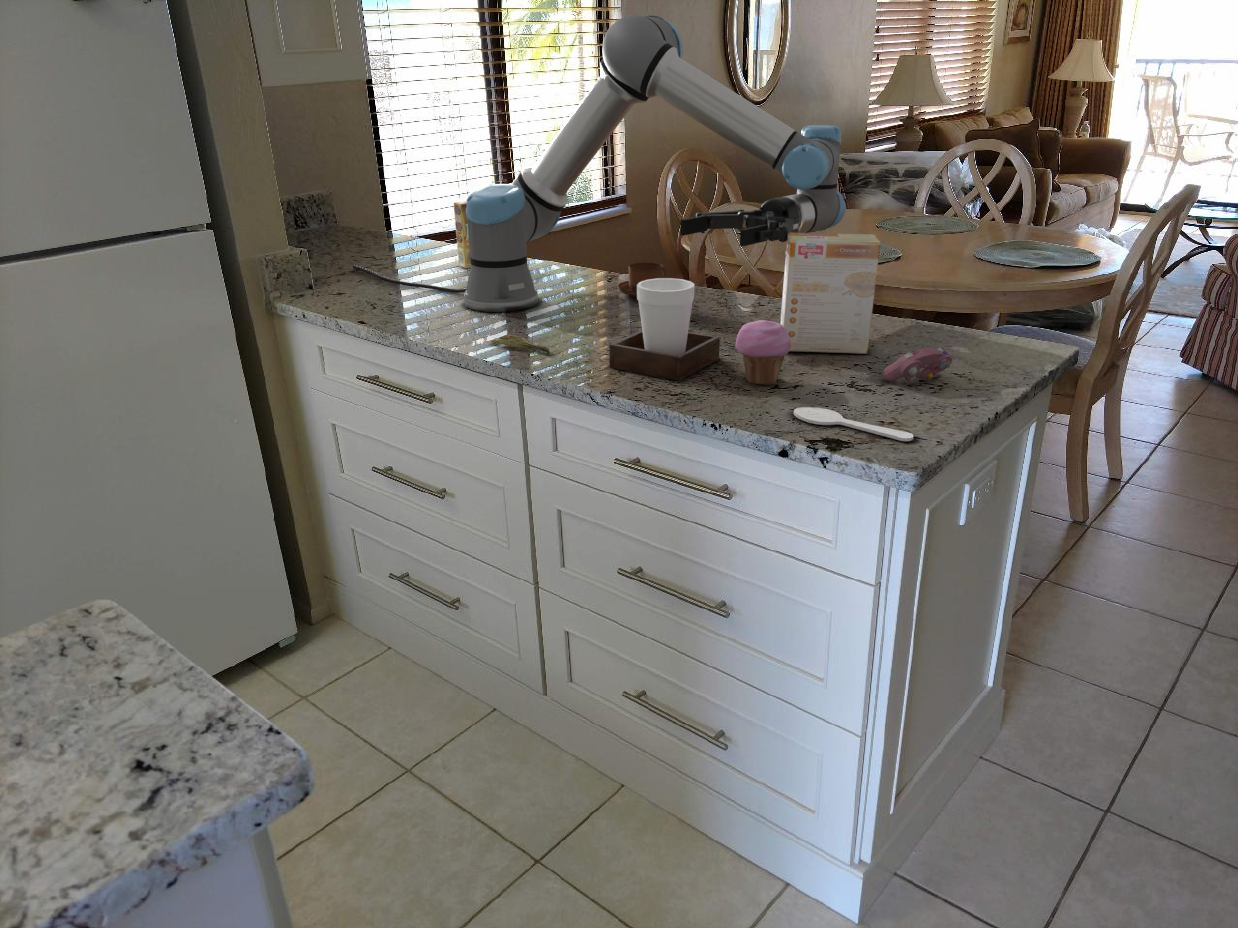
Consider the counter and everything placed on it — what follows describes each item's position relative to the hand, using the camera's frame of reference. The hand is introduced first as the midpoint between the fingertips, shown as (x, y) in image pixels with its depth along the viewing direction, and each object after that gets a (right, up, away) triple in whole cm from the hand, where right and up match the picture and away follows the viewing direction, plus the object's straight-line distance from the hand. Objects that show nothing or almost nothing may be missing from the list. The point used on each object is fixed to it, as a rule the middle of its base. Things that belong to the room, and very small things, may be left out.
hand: (710, 232), depth 166 cm
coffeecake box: (+20, -20, +4) cm, 28 cm away
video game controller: (+32, -27, -13) cm, 43 cm away
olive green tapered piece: (-33, -19, +6) cm, 39 cm away
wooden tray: (-8, -23, -3) cm, 24 cm away
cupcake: (+7, -27, -12) cm, 30 cm away
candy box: (-51, +9, +70) cm, 87 cm away
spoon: (+17, -35, -30) cm, 49 cm away
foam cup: (-8, -23, -3) cm, 24 cm away
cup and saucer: (-10, -4, +41) cm, 42 cm away
